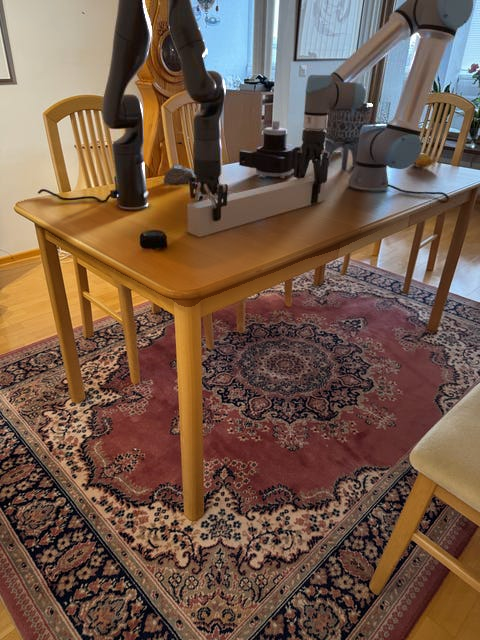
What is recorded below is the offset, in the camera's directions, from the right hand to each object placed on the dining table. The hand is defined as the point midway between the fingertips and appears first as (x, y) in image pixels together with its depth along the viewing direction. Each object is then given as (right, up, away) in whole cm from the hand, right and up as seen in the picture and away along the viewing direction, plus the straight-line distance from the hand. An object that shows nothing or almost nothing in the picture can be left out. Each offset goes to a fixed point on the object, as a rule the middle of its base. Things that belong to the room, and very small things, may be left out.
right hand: (307, 200), depth 158 cm
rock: (-46, +12, +21) cm, 52 cm away
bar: (-16, -8, -13) cm, 23 cm away
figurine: (+31, +50, +87) cm, 105 cm away
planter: (+24, +30, +53) cm, 65 cm away
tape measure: (-45, -23, -40) cm, 65 cm away
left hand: (-32, -12, -29) cm, 45 cm away
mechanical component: (-6, +22, +39) cm, 45 cm away
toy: (+62, +32, +58) cm, 91 cm away
